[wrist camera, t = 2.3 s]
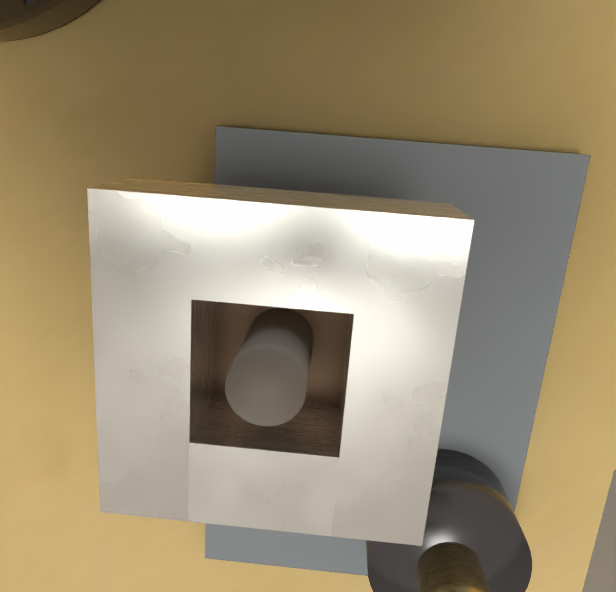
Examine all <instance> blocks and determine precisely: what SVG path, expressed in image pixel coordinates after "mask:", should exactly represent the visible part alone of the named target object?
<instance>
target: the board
mask: <svg viewBox="0 0 616 592" xmlns="http://www.w3.org/2000/svg"><path fill="white" fill-rule="evenodd" d="M589 160H590V155H583V154H572V153H559V152H546V151H533V150H520V149H508V148H495V147H482V146H469V145H456V144H443V143H430V142H417V141H404V140H392V139H379V138H366V137H353V136H340V135H327V134H314V133H301V132H288V131H275V130H263V129H250V128H237V127H224V126H216V135H215V175H214V184H219V185H231V186H244V187H256V188H268V189H280V190H293V191H305V192H317V193H329V194H342V195H354V196H366V197H378V198H391V199H403V200H415V201H427V202H440V203H451V204H452V205H454V206H455V207H456V208H458V209H459V210H461V211H462V212H463V213H465V214H466V215H468V216H469V217H471V218H472V219H473V220H474V225H473V232H472V238H471V244H470V250H469V256H468V263H467V269H466V275H465V281H464V288H463V294H462V300H461V306H460V313H459V319H458V325H457V331H456V337H455V344H454V350H453V356H452V362H451V369H450V375H449V381H448V387H447V394H446V400H445V406H444V412H443V418H442V425H441V431H440V437H439V443H438V449H448V450H454V451H458V452H461V453H465V454H467V455H470V456H472V457H474V458H476V459H477V460H479V461H481V462H482V463H483V464H485V465H486V466H487V467H488V468H489V469H490V470H491V471H492V472H493V473H494V474H495V475H496V476H497V478H498V479H499V481H500V483H501V485H502V486H503V489H504V491H505V493H506V495H507V498H508V500H509V502H510V504H511V507H512V509H513V511H515V506H516V502H517V497H518V492H519V488H520V483H521V478H522V474H523V469H524V464H525V459H526V455H527V450H528V445H529V441H530V436H531V431H532V427H533V422H534V417H535V413H536V408H537V403H538V399H539V394H540V389H541V385H542V380H543V375H544V371H545V366H546V361H547V357H548V352H549V347H550V342H551V338H552V333H553V328H554V324H555V319H556V314H557V310H558V305H559V300H560V296H561V291H562V286H563V282H564V277H565V272H566V268H567V263H568V258H569V254H570V249H571V244H572V239H573V235H574V230H575V225H576V221H577V216H578V211H579V207H580V202H581V197H582V193H583V188H584V183H585V179H586V174H587V169H588V165H589ZM205 558H208V559H217V560H226V561H235V562H245V563H254V564H263V565H273V566H282V567H291V568H300V569H310V570H319V571H328V572H338V573H347V574H356V575H365V576H368V570H367V552H366V540H360V539H351V538H341V537H332V536H322V535H313V534H303V533H294V532H284V531H275V530H265V529H256V528H246V527H237V526H227V525H218V524H208V523H206V538H205Z"/></svg>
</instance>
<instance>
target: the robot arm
mask: <svg viewBox="0 0 616 592" xmlns="http://www.w3.org/2000/svg"><path fill="white" fill-rule="evenodd" d="M98 1H99V0H0V41H11V40H18V39H24V38H28V37H32V36H36V35H39V34H42V33H45V32H48V31H51V30H53V29H55V28H58V27H60V26H62V25H64V24H66V23H68V22H69V21H71V20H73V19H75V18H76V17H78V16H79V15H81V14H82V13H84V12H85V11H87V10H88V9H89V8H91V7H92V6H93V5H94V4H96V3H97V2H98ZM582 592H616V470H614V473H613V477H612V481H611V484H610V488H609V492H608V496H607V500H606V503H605V507H604V511H603V515H602V519H601V522H600V526H599V530H598V534H597V538H596V541H595V545H594V549H593V553H592V557H591V560H590V564H589V568H588V572H587V576H586V579H585V583H584V587H583V591H582Z"/></svg>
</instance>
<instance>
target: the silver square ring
mask: <svg viewBox="0 0 616 592" xmlns="http://www.w3.org/2000/svg"><path fill="white" fill-rule="evenodd" d="M87 192H88V217H89V242H90V267H91V292H92V317H93V342H94V367H95V392H96V417H97V442H98V467H99V492H100V512H104V513H113V514H123V515H132V516H142V517H151V518H161V519H170V520H180V521H189V522H199V523H208V524H218V525H227V526H237V527H246V528H256V529H265V530H275V531H284V532H294V533H303V534H313V535H322V536H332V537H341V538H351V539H360V540H370V541H379V542H389V543H398V544H408V545H417V546H422V543H423V537H424V531H425V524H426V518H427V512H428V506H429V500H430V493H431V487H432V481H433V475H434V468H435V462H436V456H437V450H438V443H439V437H440V431H441V425H442V418H443V412H444V406H445V400H446V394H447V387H448V381H449V375H450V369H451V362H452V356H453V350H454V344H455V337H456V331H457V325H458V319H459V313H460V306H461V300H462V294H463V288H464V281H465V275H466V269H467V263H468V256H469V250H470V244H471V238H472V232H473V225H474V220H473V219H472V218H471V217H469V216H468V215H466V214H465V213H463V212H462V211H461V210H459V209H458V208H456V207H455V206H454V205H452V204H451V203H440V202H427V201H415V200H403V199H391V198H378V197H366V196H354V195H342V194H329V193H317V192H305V191H293V190H280V189H268V188H256V187H244V186H231V185H219V184H207V183H195V182H182V181H170V180H158V179H146V178H129V179H125V180H121V181H116V182H112V183H108V184H103V185H99V186H95V187H90V188H87ZM217 302H226V303H237V304H248V305H259V306H271V307H282V308H293V309H304V310H315V311H326V312H337V313H349V321H348V331H347V341H346V351H345V361H344V371H343V381H342V391H341V401H340V404H334V403H324V402H314V401H304V404H303V406H302V408H301V409H300V411H299V412H298V413H297V414H296V415H295V416H294V417H293V418H292V419H290V420H289V421H287V422H285V423H283V424H280V425H276V426H259V425H255V424H252V423H250V422H247V421H246V420H244V419H242V418H241V417H240V416H238V415H237V414H236V413H235V412H234V410H233V409H232V408H231V406H230V404H229V402H228V400H227V397H226V393H220V392H214V388H215V352H216V316H217Z"/></svg>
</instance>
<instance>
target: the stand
mask: <svg viewBox="0 0 616 592" xmlns="http://www.w3.org/2000/svg"><path fill="white" fill-rule="evenodd" d="M348 321H349V313H337V312H326V311H315V310H304V309H293V308H282V307H271V306H259V305H248V304H237V303H226V302H217V316H216V352H215V388H214V392H220V393H226V397H227V400H228V402H229V404H230V406H231V408H232V409H233V410H234V412H235V413H236V414H237V415H238V416H240V417H241V418H242V419H244V420H246V421H247V422H250V423H252V424H255V425H259V426H276V425H280V424H283V423H285V422H287V421H289V420H290V419H292V418H293V417H294V416H295V415H296V414H297V413H298V412H299V411H300V409H301V408H302V406H303V404H304V401H314V402H324V403H334V404H340V401H341V391H342V381H343V371H344V361H345V351H346V341H347V331H348Z"/></svg>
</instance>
